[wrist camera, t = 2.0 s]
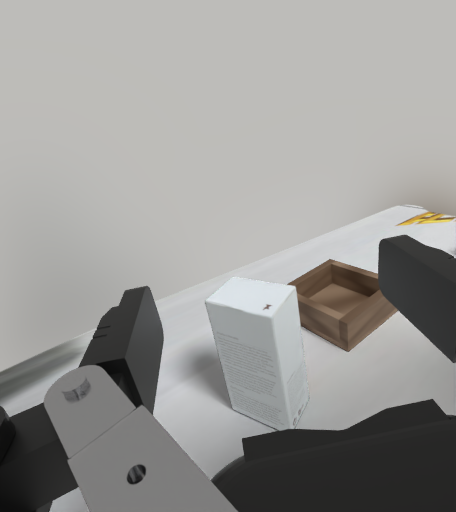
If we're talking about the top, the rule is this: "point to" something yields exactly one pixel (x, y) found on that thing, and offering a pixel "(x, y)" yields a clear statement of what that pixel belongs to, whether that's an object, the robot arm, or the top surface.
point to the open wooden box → (341, 303)
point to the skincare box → (261, 349)
